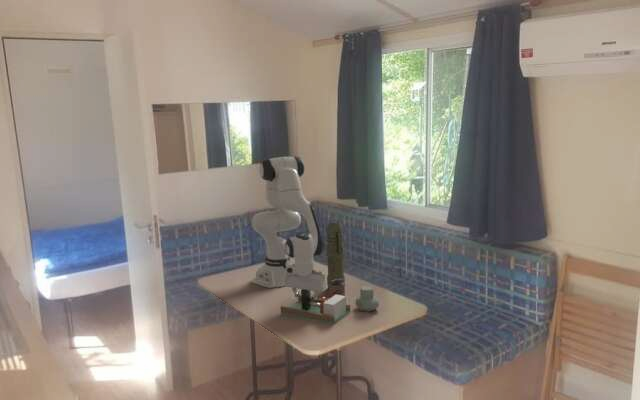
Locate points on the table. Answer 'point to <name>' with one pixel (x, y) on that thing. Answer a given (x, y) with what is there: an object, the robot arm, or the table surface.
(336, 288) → the lighter
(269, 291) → the table surface
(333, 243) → the thermos
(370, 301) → the air freshener
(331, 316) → the pitch
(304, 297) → the rod
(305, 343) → the table surface
